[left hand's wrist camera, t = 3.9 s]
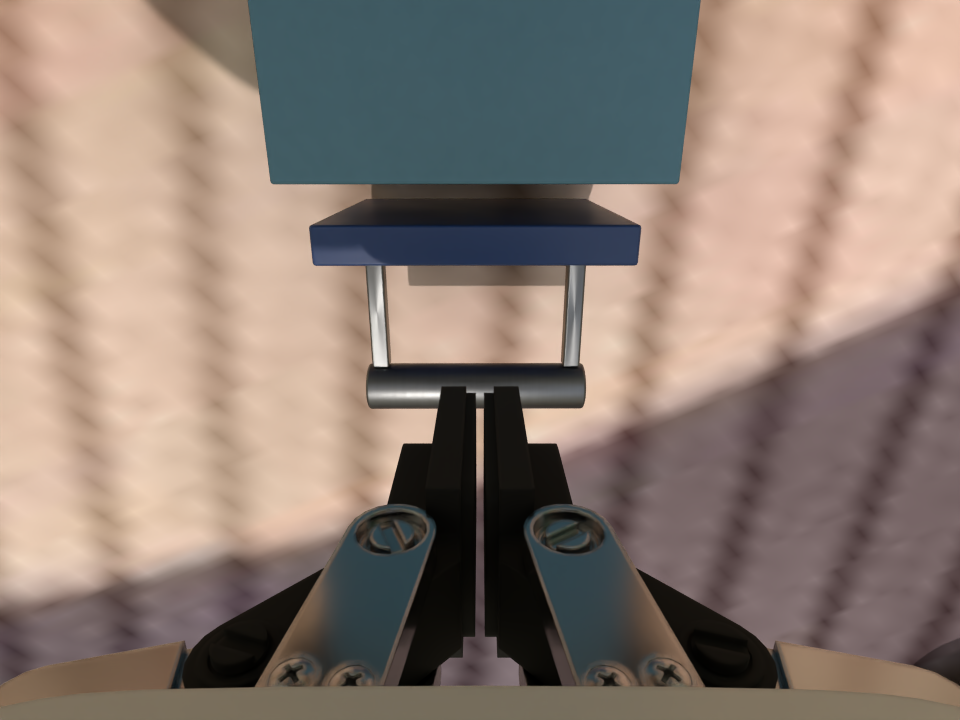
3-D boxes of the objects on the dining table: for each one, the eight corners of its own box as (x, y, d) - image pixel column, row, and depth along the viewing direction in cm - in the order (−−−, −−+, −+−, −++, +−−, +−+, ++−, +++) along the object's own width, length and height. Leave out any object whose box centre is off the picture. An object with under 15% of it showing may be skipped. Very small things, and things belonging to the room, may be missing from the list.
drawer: (577, 350, 27) (620, 439, 19) (375, 350, 27) (330, 439, 19) (608, -121, 21) (694, -299, 12) (342, -122, 21) (252, -300, 12)
